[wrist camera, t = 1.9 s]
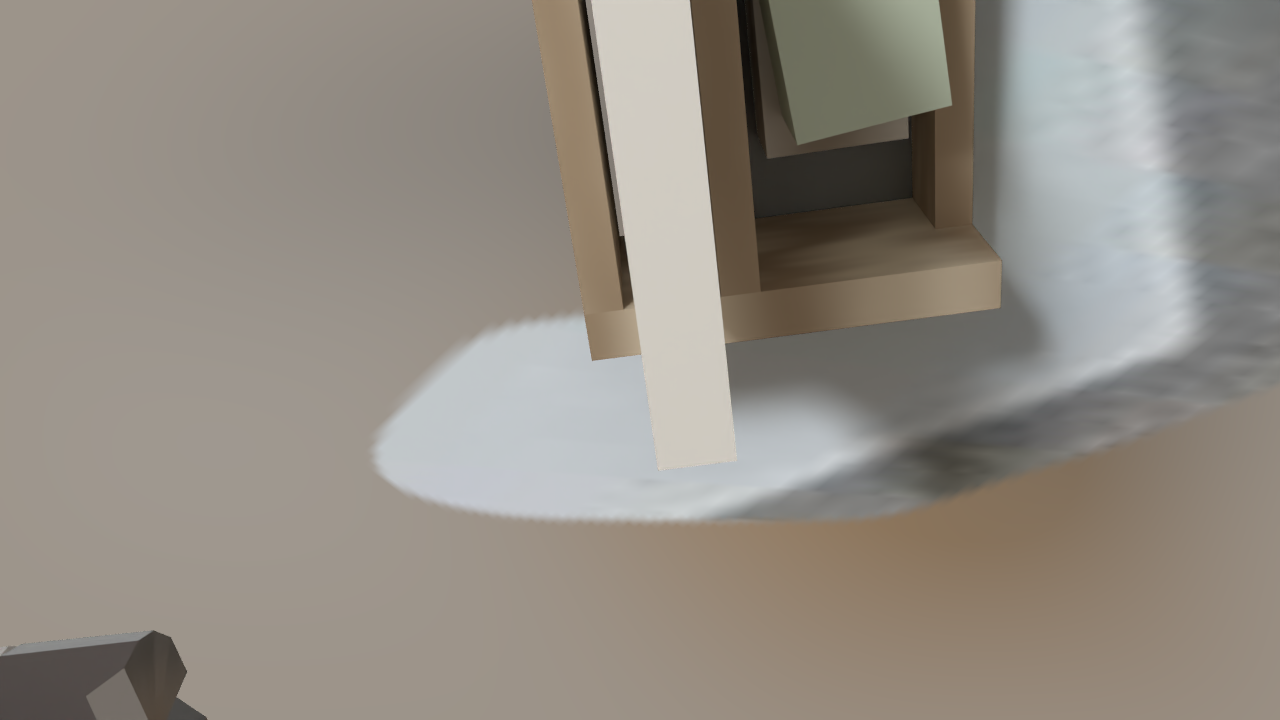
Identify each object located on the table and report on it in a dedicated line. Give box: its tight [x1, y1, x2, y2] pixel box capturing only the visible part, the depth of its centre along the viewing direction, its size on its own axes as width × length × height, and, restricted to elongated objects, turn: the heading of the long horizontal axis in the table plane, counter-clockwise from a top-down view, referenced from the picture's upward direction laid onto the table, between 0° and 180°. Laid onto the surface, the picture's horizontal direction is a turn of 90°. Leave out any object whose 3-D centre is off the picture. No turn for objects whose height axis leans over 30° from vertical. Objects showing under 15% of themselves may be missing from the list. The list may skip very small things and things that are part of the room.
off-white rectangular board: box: [591, 0, 737, 471], centre depth 27 cm, size 2×14×18 cm, turn 7°
